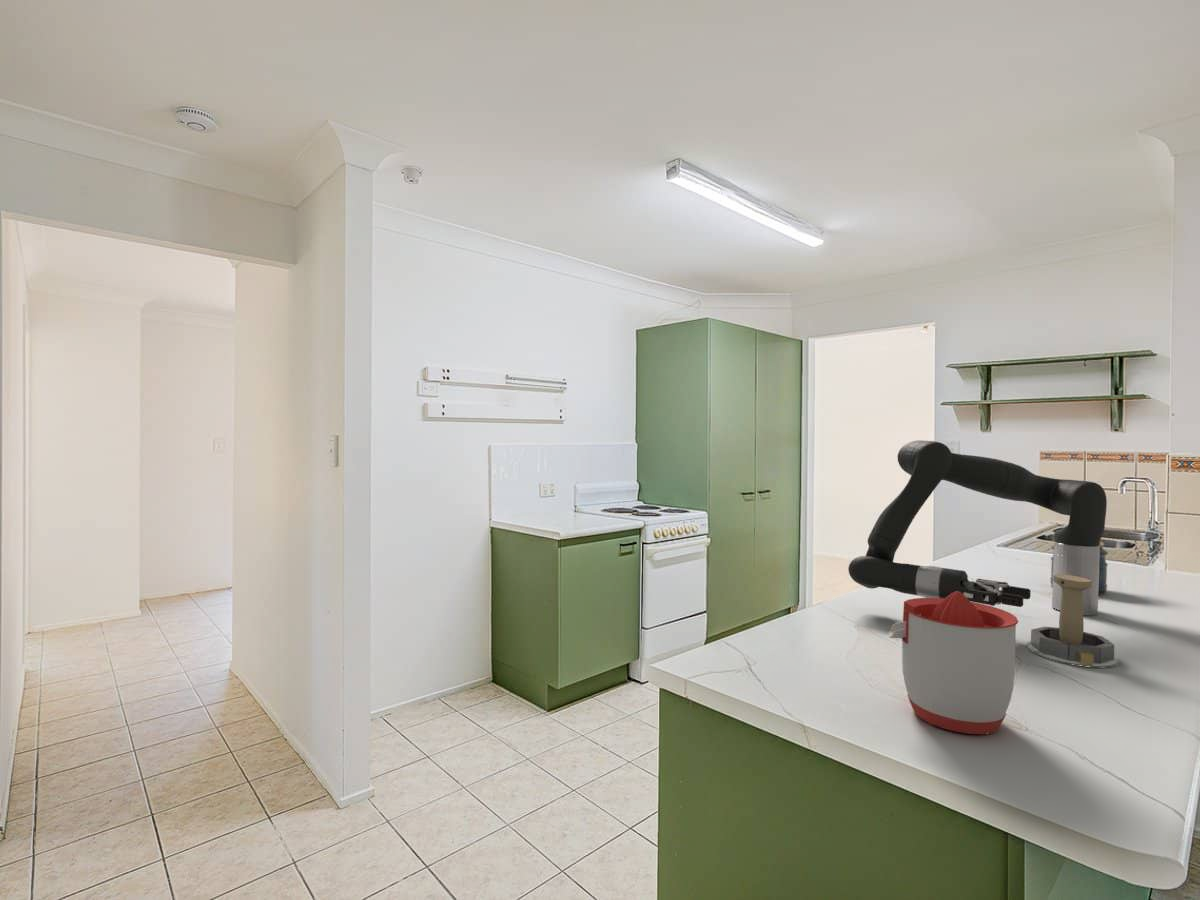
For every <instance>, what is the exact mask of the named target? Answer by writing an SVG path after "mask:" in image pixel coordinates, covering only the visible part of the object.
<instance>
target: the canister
mask: <svg viewBox="0 0 1200 900" xmlns="http://www.w3.org/2000/svg"><path fill="white" fill-rule="evenodd" d="M1104 546H1105V543H1104V542H1103V541H1101V540H1100V555H1099V590H1098V594H1103V595H1105V594H1106V593H1107V590H1108V584H1107V576H1108V575H1107V574H1108V566H1109V564H1108V563H1107V560H1106V556H1108V554H1109V552H1108V551H1107V550H1105V549H1104ZM1050 548H1051V549H1052V551H1053V552H1052V553H1053V554H1052V557H1051V558H1050V560H1051V569H1050V581H1049V583H1050V585H1051V587H1052V586H1053V560H1054V545H1052V546H1051V547H1050ZM1104 593H1105V594H1104Z"/></svg>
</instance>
